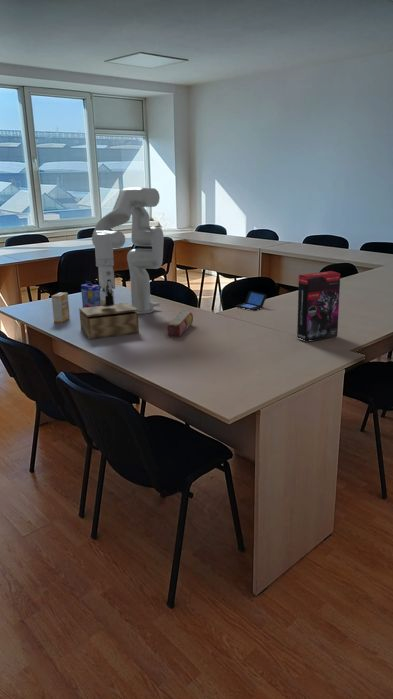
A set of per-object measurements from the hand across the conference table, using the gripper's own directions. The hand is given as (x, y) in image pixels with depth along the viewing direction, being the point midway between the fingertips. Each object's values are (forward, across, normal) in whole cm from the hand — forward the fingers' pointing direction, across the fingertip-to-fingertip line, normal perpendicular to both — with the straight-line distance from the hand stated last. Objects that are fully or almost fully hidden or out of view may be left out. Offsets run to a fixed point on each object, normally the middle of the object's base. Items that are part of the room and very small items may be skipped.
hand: (107, 303), depth 230 cm
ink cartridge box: (+13, +47, -3) cm, 49 cm away
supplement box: (+13, +28, +16) cm, 35 cm away
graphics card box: (+13, -49, -76) cm, 91 cm away
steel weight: (+1, 0, 0) cm, 1 cm away
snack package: (+13, -13, -29) cm, 35 cm away
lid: (+3, 0, 0) cm, 3 cm away
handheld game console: (+13, +10, -78) cm, 80 cm away
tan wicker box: (+13, 0, 0) cm, 13 cm away
